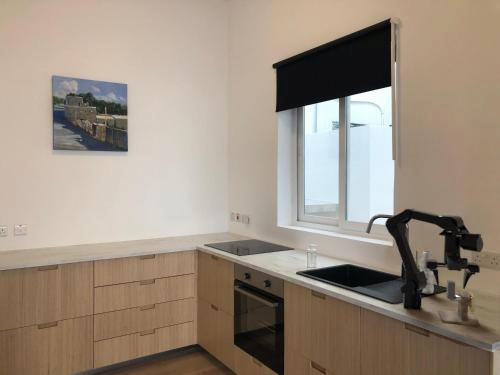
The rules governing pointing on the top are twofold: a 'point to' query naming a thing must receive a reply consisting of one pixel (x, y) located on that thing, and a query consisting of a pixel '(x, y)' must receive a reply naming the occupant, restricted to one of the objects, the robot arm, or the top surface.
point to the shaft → (452, 292)
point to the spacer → (472, 302)
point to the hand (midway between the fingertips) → (450, 287)
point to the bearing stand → (460, 312)
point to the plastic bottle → (427, 273)
